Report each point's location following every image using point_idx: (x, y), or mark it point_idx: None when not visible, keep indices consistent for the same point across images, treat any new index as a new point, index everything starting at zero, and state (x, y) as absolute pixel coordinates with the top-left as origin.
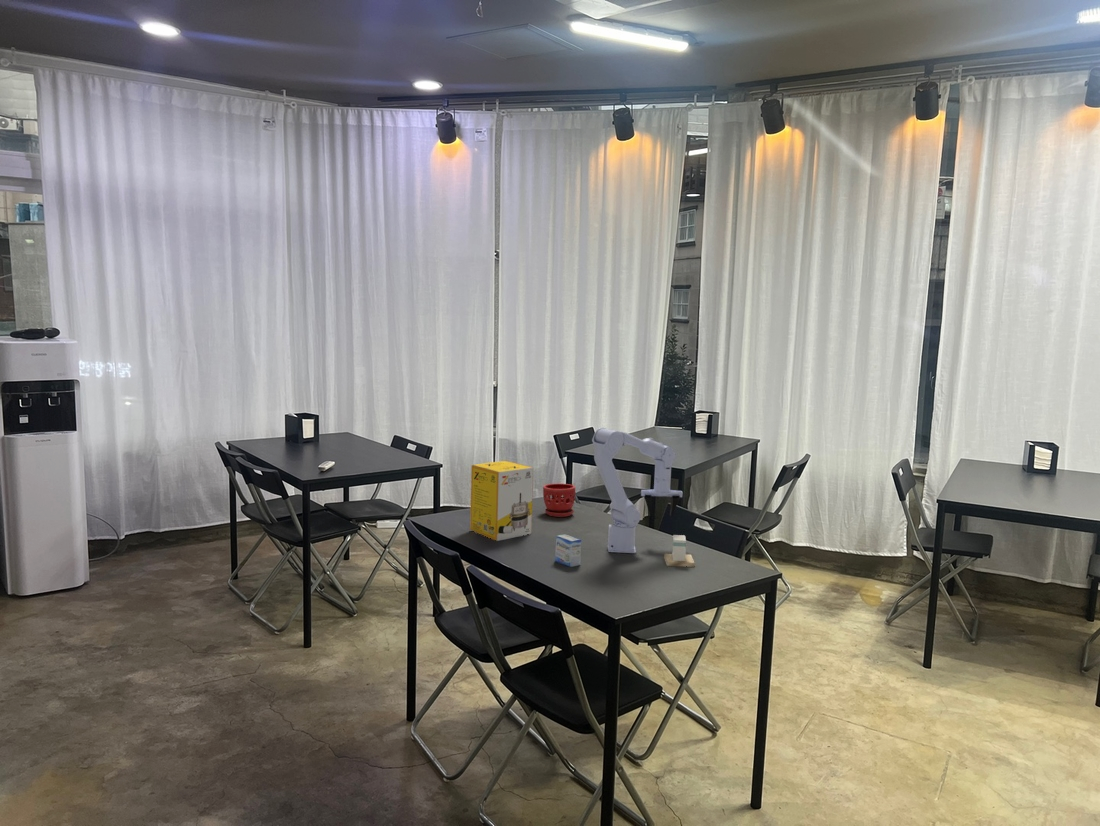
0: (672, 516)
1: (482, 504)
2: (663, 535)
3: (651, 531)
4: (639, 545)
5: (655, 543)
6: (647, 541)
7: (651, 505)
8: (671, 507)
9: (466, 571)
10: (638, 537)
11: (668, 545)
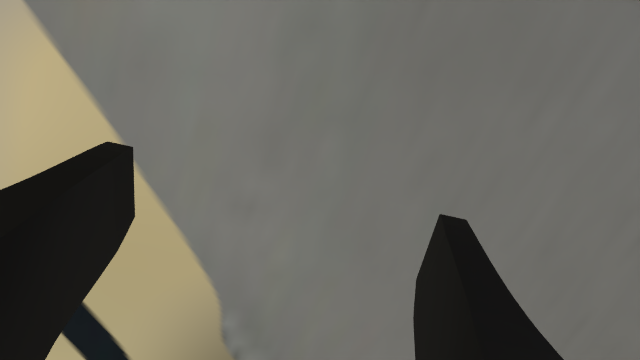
0: (104, 143)
1: None
2: (223, 264)
3: (281, 347)
4: (540, 48)
5: (357, 88)
6: (405, 152)
7: (481, 340)
8: (49, 268)
9: None
10: None
11: (255, 13)
